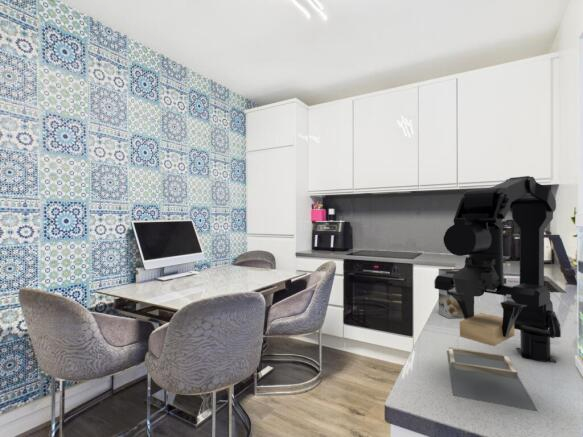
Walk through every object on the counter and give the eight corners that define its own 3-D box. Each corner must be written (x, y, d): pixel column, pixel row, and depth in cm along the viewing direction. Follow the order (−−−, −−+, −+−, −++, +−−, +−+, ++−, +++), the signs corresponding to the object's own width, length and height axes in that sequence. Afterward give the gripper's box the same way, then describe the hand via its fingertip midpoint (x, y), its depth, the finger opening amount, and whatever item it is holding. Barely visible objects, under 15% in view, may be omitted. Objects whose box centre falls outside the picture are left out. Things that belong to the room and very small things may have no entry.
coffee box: (447, 318, 106) (446, 271, 106) (438, 313, 112) (437, 268, 112) (474, 318, 106) (473, 270, 106) (463, 312, 112) (462, 268, 113)
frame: (448, 352, 78) (448, 347, 78) (507, 360, 73) (507, 355, 73) (451, 368, 69) (451, 362, 69) (517, 378, 64) (517, 372, 65)
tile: (481, 327, 66) (481, 313, 66) (514, 335, 61) (514, 320, 61) (459, 336, 61) (459, 321, 61) (493, 346, 56) (493, 329, 56)
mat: (446, 352, 79) (446, 350, 79) (508, 361, 74) (508, 358, 74) (453, 398, 59) (453, 395, 59) (538, 414, 53) (538, 411, 53)
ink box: (530, 307, 117) (529, 276, 117) (534, 311, 113) (533, 278, 113) (502, 305, 121) (502, 275, 121) (505, 309, 116) (505, 277, 116)
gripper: (418, 251, 65) (419, 327, 64) (524, 259, 49) (526, 359, 49) (448, 248, 71) (449, 317, 71) (550, 254, 55) (552, 343, 55)
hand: (487, 331), depth 61 cm, fingers closed on tile, 6 cm apart
